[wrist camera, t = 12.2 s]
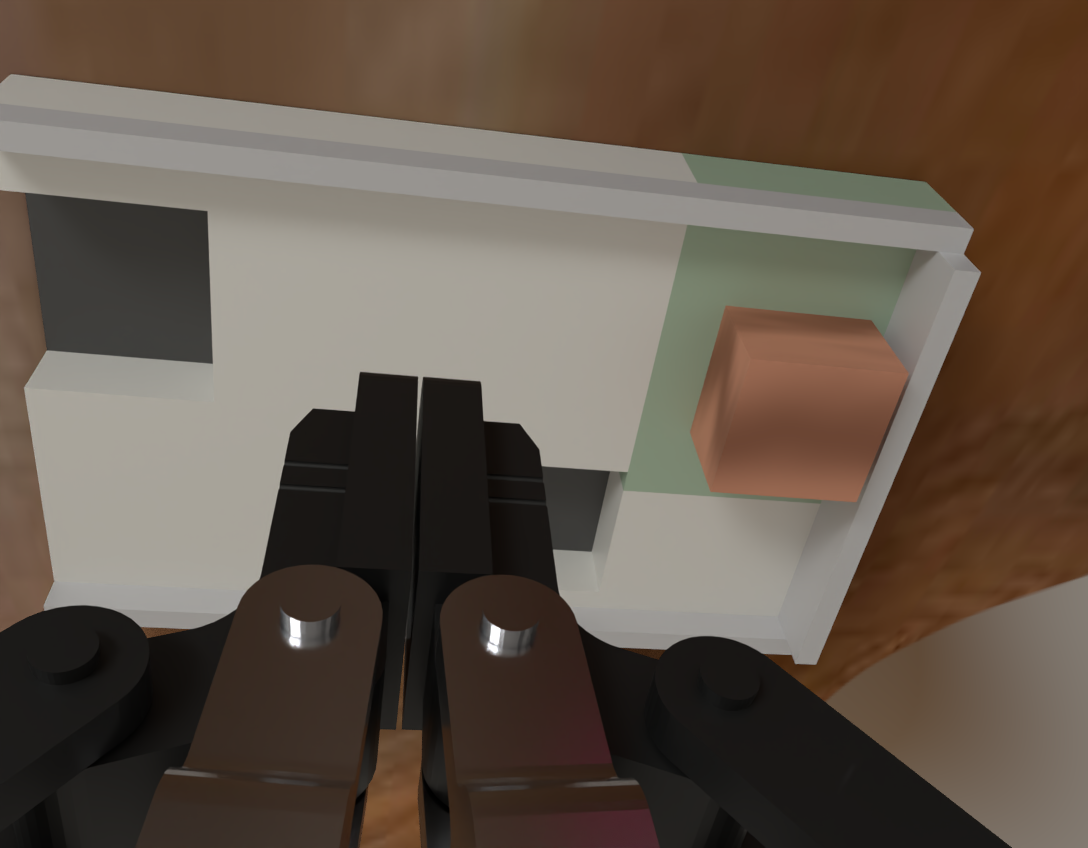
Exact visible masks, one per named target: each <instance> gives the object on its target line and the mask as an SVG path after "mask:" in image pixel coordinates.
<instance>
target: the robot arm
mask: <svg viewBox="0 0 1088 848" xmlns="http://www.w3.org/2000/svg"><path fill="white" fill-rule="evenodd" d="M417 401H418V376H407V375H395V374H382V373H370V372H360V374H359V381H358V390H357V398H356V406H355V411H341V410H328V409H315V408H313V409H312V410H311V411H310V412H309V413H308V414H307V415H306V416H305V417H304V418H303V419H302V420H301V421H300V422H299V423H298V424H297V425H296V426H295V427H294V429H293V430H292V431H291V432H290V436H289V441H288V445H287V450H286V455H285V460H284V466H283V470H282V475H281V479H280V487H279V489H278V494H277V499H276V504H275V509H274V513H273V518H272V523H271V528H270V533H269V538H268V542H267V547H266V552H265V557H264V562H263V567H262V572H261V576H260V579H259V580H258V581H257V582H255V583H254V584H253V585H252V586H251V587H250V588H249V589H248V590H247V591H246V592H245V594H244V595H243V596H242V598H241V600H240V602H239V604H238V607H237V609H236V610H234V611H233V612H231V613H230V614H228V615H227V616H225V617H223V618H221V619H219V620H217V621H215V622H212V623H210V624H207V625H204V626H202V627H198V628H194V629H190V630H186V631H181V632H176V633H171V634H166V635H161V636H156V637H151V638H146V635H145V633H144V632H143V630H142V629H141V627H140V626H139V625H138V624H137V623H136V622H135V621H133V620H132V619H131V618H129V617H128V616H126V615H124V614H122V613H120V612H117V611H115V610H112V609H108V608H104V607H99V606H89V605H75V606H65V607H58V608H54V609H50V610H46V611H42V612H40V613H37V614H34V615H32V616H29V617H27V618H25V619H23V620H21V621H19V622H17V623H15V624H14V625H12V626H10V627H9V628H7V629H5V630H4V631H2V632H0V848H360V842H361V835H362V829H363V822H364V816H365V809H366V803H367V796H368V785H369V783H370V781H371V780H372V778H373V775H374V772H375V769H376V763H377V754H378V743H379V732H380V729H393V730H396V722H397V713H398V703H399V693H400V683H401V674H402V664H403V654H404V644H405V661H404V688H403V715H402V729H406V730H422V761H421V769H420V777H419V785H418V810H419V825H420V840H421V848H1012V847H1010V846H1009V845H1008V844H1007V843H1005V842H1004V841H1003V840H1001V839H1000V838H999V837H998V836H996V835H995V834H994V833H992V832H991V831H990V830H989V829H987V828H986V827H985V826H983V825H982V824H981V823H980V822H978V821H977V820H976V819H974V818H973V817H972V816H971V815H969V814H968V813H967V812H965V811H964V810H963V809H962V808H960V807H959V806H958V805H956V804H955V803H954V802H953V801H951V800H950V799H949V798H947V797H946V796H945V795H944V794H942V793H941V792H940V791H939V790H937V789H936V788H935V787H933V786H932V785H931V784H930V783H928V782H927V781H925V780H924V779H923V778H922V777H920V776H919V775H918V774H917V773H915V772H914V771H913V770H911V769H910V768H909V767H908V766H906V765H905V764H904V763H903V762H901V761H900V760H898V759H897V758H896V757H895V756H894V755H892V754H891V753H890V752H888V751H887V750H886V749H885V748H883V747H882V746H881V745H879V744H878V743H877V742H876V741H874V740H873V739H872V738H870V737H869V736H868V735H867V734H865V733H864V732H863V731H861V730H860V729H859V728H858V727H856V726H855V725H853V724H852V723H851V722H850V721H849V720H847V719H846V718H845V717H844V716H842V715H841V714H840V713H838V712H837V711H836V710H834V709H833V708H832V707H831V706H829V705H828V704H827V703H826V702H824V701H823V700H822V699H820V698H819V697H818V696H817V695H815V694H814V693H813V692H811V691H810V690H809V689H808V688H806V687H805V686H804V685H802V684H801V683H800V682H799V681H797V680H796V679H795V678H793V677H792V676H791V675H790V674H788V673H787V672H786V671H785V670H783V669H782V668H781V667H779V666H778V665H777V664H776V663H774V662H773V661H772V660H770V659H769V658H768V657H766V656H765V655H763V654H762V653H761V652H759V651H758V650H756V649H754V648H752V647H750V646H748V645H746V644H743V643H741V642H738V641H735V640H732V639H728V638H724V637H716V636H697V637H690V638H687V639H684V640H681V641H679V642H677V643H675V644H673V645H672V646H670V647H669V648H668V649H667V650H666V651H665V652H664V653H663V654H662V656H661V657H660V659H659V660H657V659H654V658H651V657H647V656H644V655H641V654H638V653H634V652H631V651H628V650H624V649H621V648H619V647H616V646H613V645H610V644H608V643H606V642H604V641H602V640H600V639H598V638H596V637H595V636H593V635H592V634H590V633H589V632H587V631H586V630H585V629H584V628H582V627H581V626H580V625H579V624H578V623H577V621H576V618H575V615H574V613H573V611H572V610H571V608H570V606H569V605H568V604H567V603H566V601H565V600H564V599H563V598H562V597H561V596H560V594H559V590H558V583H557V576H556V568H555V561H554V554H553V546H552V539H551V531H550V524H549V516H548V509H547V506H546V494H545V487H544V483H543V472H542V464H541V457H540V450H539V448H538V447H537V446H536V444H535V443H534V442H533V440H532V439H531V438H530V436H529V435H528V434H527V433H526V431H525V430H524V429H523V427H522V426H521V425H520V424H517V423H504V422H490V421H484V419H483V403H482V387H481V382H480V381H471V380H459V379H447V378H434V377H423V380H422V388H421V398H420V408H419V418H418V429H417ZM416 432H417V439H416Z"/></svg>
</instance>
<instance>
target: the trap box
mask: <svg viewBox="0 0 1088 848" xmlns="http://www.w3.org/2000/svg"><path fill="white" fill-rule="evenodd" d="M0 190H6V191H16V192H25V194H26V202H27V209H28V216H29V223H30V231H31V238H32V245H33V252H34V260H35V267H36V274H37V281H38V289H39V296H40V303H41V310H42V318H43V325H44V332H45V339H46V347H47V351H46V353H45V355H44V356H43V358H42V360H41V361H40V363H39V364H38V366H37V368H36V369H35V371H34V373H33V374H32V376H31V378H30V379H29V381H28V382H27V384H26V386H25V387H24V390H25V396H26V403H27V409H28V415H29V422H30V428H31V435H32V441H33V448H34V454H35V460H36V467H37V473H38V480H39V486H40V493H41V499H42V505H43V512H44V518H45V525H46V531H47V538H48V544H49V550H50V557H51V563H52V570H53V576H54V583H53V585H52V588H51V590H50V592H49V594H48V597H47V599H46V601H45V604H44V611H46V610H50V609H54V608H58V607H65V606H75V605H89V606H99V607H104V608H108V609H112V610H115V611H117V612H120V613H122V614H124V615H126V616H128V617H129V618H131V619H132V620H133V621H135V622H136V623H137V624H138V625H139V626H140V627H156V628H179V629H194V628H198V627H202V626H204V625H207V624H210V623H212V622H215V621H217V620H219V619H221V618H223V617H225V616H227V615H228V614H230V613H231V612H233V611H234V610H236V609H237V607H238V604H239V602H240V600H241V598H242V596H243V595H244V594H245V592H246V591H247V590H248V589H249V588H250V587H251V586H252V585H253V584H254V583H255V582H257V581H258V580H259V579H260V576H261V572H262V567H263V562H264V557H265V552H266V547H267V542H268V538H269V533H270V528H271V523H272V518H273V513H274V509H275V504H276V499H277V494H278V489H279V487H280V479H281V475H282V470H283V466H284V460H285V455H286V450H287V445H288V441H289V436H290V432H291V431H292V430H293V429H294V427H295V426H296V425H297V424H298V423H299V422H300V421H301V420H302V419H303V418H304V417H305V416H306V415H307V414H308V413H309V412H310V411H311V410H312V409H313V408H315V409H328V410H341V411H355V406H356V398H357V390H358V381H359V374H360V372H370V373H382V374H395V375H407V376H418V401H417V429H418V418H419V408H420V398H421V388H422V380H423V377H434V378H447V379H459V380H471V381H480V382H481V387H482V403H483V419H484V421H490V422H504V423H517V424H520V425H521V426H522V427H523V429H524V430H525V431H526V433H527V434H528V435H529V436H530V438H531V439H532V440H533V442H534V443H535V444H536V446H537V447H538V448H539V450H540V457H541V464H542V472H543V483H544V487H545V494H546V506H547V509H548V516H549V524H550V531H551V539H552V546H553V554H554V561H555V568H556V576H557V583H558V590H559V594H560V596H561V597H562V598H563V599H564V600H565V601H566V603H567V604H568V605H569V606H570V608H571V610H572V611H573V613H574V615H575V618H576V621H577V623H578V624H579V625H580V626H581V627H582V628H584V629H585V630H586V631H587V632H589V633H590V634H592V635H593V636H595V637H596V638H598V639H600V640H602V641H604V642H606V643H608V644H610V645H613V646H616V647H620V648H643V649H668V648H669V647H670V646H672V645H673V644H675V643H677V642H679V641H681V640H684V639H687V638H690V637H697V636H716V637H724V638H728V639H732V640H735V641H738V642H741V643H743V644H746V645H748V646H750V647H752V648H754V649H756V650H758V651H759V652H761V653H762V654H783V655H792V656H793V659H794V661H795V664H814V665H816V663H817V661H818V659H819V656H820V654H821V651H822V649H823V647H824V644H825V642H826V640H827V637H828V635H829V632H830V630H831V628H832V625H833V623H834V621H835V618H836V616H837V614H838V611H839V609H840V606H841V604H842V602H843V599H844V597H845V595H846V592H847V590H848V587H849V585H850V583H851V580H852V578H853V576H854V573H855V571H856V568H857V566H858V564H859V561H860V559H861V557H862V554H863V552H864V549H865V547H866V545H867V542H868V540H869V538H870V535H871V533H872V530H873V528H874V526H875V523H876V521H877V519H878V516H879V514H880V512H881V509H882V507H883V504H884V502H885V500H886V497H887V495H888V493H889V490H890V488H891V485H892V483H893V481H894V478H895V476H896V474H897V471H898V469H899V466H900V464H901V462H902V459H903V457H904V455H905V452H906V450H907V447H908V445H909V443H910V440H911V438H912V436H913V433H914V431H915V428H916V426H917V424H918V421H919V419H920V417H921V414H922V412H923V409H924V407H925V405H926V402H927V400H928V398H929V395H930V393H931V391H932V388H933V386H934V383H935V381H936V379H937V376H938V374H939V372H940V369H941V367H942V364H943V362H944V360H945V357H946V355H947V353H948V350H949V348H950V345H951V343H952V341H953V338H954V336H955V334H956V331H957V329H958V326H959V324H960V322H961V319H962V317H963V315H964V312H965V310H966V307H967V305H968V303H969V300H970V298H971V296H972V293H973V291H974V289H975V286H976V284H977V281H978V279H979V277H980V274H981V272H980V271H979V270H978V269H977V268H976V267H975V266H974V265H973V264H972V263H971V262H970V261H969V259H968V258H967V257H966V256H965V255H964V252H965V250H966V247H967V245H968V242H969V240H970V237H971V235H972V232H973V230H974V229H973V228H972V227H971V226H970V225H969V224H968V223H967V222H966V221H965V220H964V219H963V218H962V217H961V216H960V215H959V214H958V213H957V212H956V211H955V210H954V209H953V208H952V207H951V206H950V205H949V204H948V203H947V202H946V201H945V200H944V199H943V198H942V197H941V196H940V195H939V194H938V193H937V192H936V191H934V190H933V189H932V188H931V187H930V186H929V185H928V184H927V183H926V182H922V181H913V180H905V179H896V178H888V177H879V176H871V175H862V174H854V173H845V172H837V171H828V170H820V169H811V168H803V167H794V166H786V165H778V164H769V163H761V162H752V161H744V160H735V159H727V158H718V157H710V156H701V155H693V154H684V153H676V152H667V151H659V150H650V149H642V148H633V147H625V146H616V145H608V144H600V143H591V142H583V141H574V140H566V139H557V138H549V137H540V136H532V135H523V134H515V133H506V132H498V131H489V130H481V129H472V128H464V127H455V126H447V125H438V124H430V123H421V122H413V121H405V120H396V119H388V118H379V117H371V116H362V115H354V114H345V113H337V112H328V111H320V110H311V109H303V108H294V107H286V106H277V105H269V104H260V103H252V102H243V101H235V100H226V99H218V98H210V97H201V96H193V95H184V94H176V93H167V92H159V91H150V90H142V89H133V88H125V87H116V86H108V85H99V84H91V83H82V82H74V81H65V80H57V79H48V78H40V77H31V76H23V75H15V74H11V75H9V76H8V77H7V78H6V79H5V80H4V81H2V82H1V83H0ZM725 306H735V307H745V308H755V309H765V310H775V311H785V312H795V313H805V314H815V315H825V316H835V317H845V318H855V319H865V320H872V322H873V323H874V325H875V326H876V327H877V329H878V330H879V332H880V333H881V335H882V336H883V337H884V339H885V340H886V342H887V343H888V344H889V346H890V347H891V349H892V350H893V352H894V353H895V354H896V356H897V357H898V359H899V360H900V362H901V363H902V364H903V366H904V367H905V369H906V370H907V371H908V373H909V375H908V377H907V380H906V382H905V385H904V387H903V390H902V392H901V395H900V397H899V399H898V402H897V404H896V407H895V409H894V412H893V414H892V417H891V419H890V421H889V424H888V426H887V429H886V431H885V434H884V436H883V439H882V441H881V443H880V446H879V448H878V451H877V453H876V456H875V458H874V461H873V463H872V465H871V468H870V470H869V473H868V475H867V478H866V480H865V483H864V485H863V487H862V490H861V492H860V495H859V497H858V500H857V502H844V501H830V500H816V499H802V498H788V497H774V496H760V495H746V494H732V493H718V492H710V489H709V486H708V483H707V481H706V478H705V475H704V472H703V469H702V466H701V463H700V460H699V457H698V454H697V452H696V449H695V446H694V443H693V440H692V437H691V434H690V430H691V427H692V423H693V420H694V416H695V413H696V409H697V405H698V402H699V398H700V395H701V391H702V388H703V384H704V381H705V377H706V373H707V370H708V366H709V363H710V359H711V356H712V352H713V349H714V345H715V341H716V338H717V334H718V331H719V327H720V324H721V320H722V317H723V313H724V309H725ZM416 439H417V432H416Z"/></svg>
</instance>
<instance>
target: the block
mask: <svg viewBox="0 0 1088 848" xmlns="http://www.w3.org/2000/svg"><path fill="white" fill-rule="evenodd" d="M908 375H909V373H908V371H907V370H906V369H905V367H904V366H903V364H902V363H901V362H900V360H899V359H898V357H897V356H896V354H895V353H894V352H893V350H892V349H891V347H890V346H889V344H888V343H887V342H886V340H885V339H884V337H883V336H882V335H881V333H880V332H879V330H878V329H877V327H876V326H875V325H874V323H873V322H872V320H865V319H855V318H845V317H835V316H825V315H815V314H805V313H795V312H785V311H775V310H765V309H755V308H745V307H735V306H725V309H724V313H723V317H722V320H721V324H720V327H719V331H718V334H717V338H716V341H715V345H714V349H713V352H712V356H711V359H710V363H709V366H708V370H707V373H706V377H705V381H704V384H703V388H702V391H701V395H700V398H699V402H698V405H697V409H696V413H695V416H694V420H693V423H692V427H691V430H690V434H691V437H692V440H693V443H694V446H695V449H696V452H697V454H698V457H699V460H700V463H701V466H702V469H703V472H704V475H705V478H706V481H707V483H708V486H709V489H710V492H718V493H732V494H746V495H760V496H774V497H788V498H802V499H816V500H830V501H844V502H857V500H858V497H859V495H860V492H861V490H862V487H863V485H864V483H865V480H866V478H867V475H868V473H869V470H870V468H871V465H872V463H873V461H874V458H875V456H876V453H877V451H878V448H879V446H880V443H881V441H882V439H883V436H884V434H885V431H886V429H887V426H888V424H889V421H890V419H891V417H892V414H893V412H894V409H895V407H896V404H897V402H898V399H899V397H900V395H901V392H902V390H903V387H904V385H905V382H906V380H907V377H908Z"/></svg>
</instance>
